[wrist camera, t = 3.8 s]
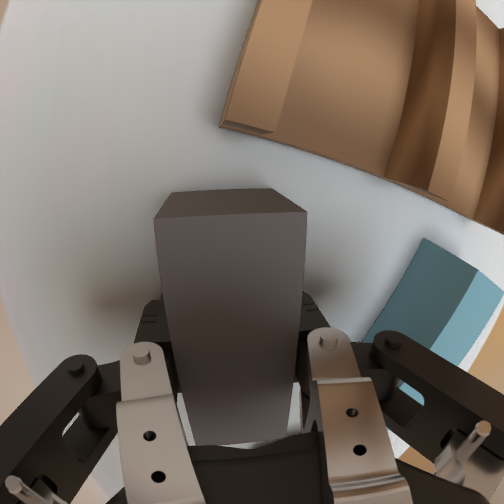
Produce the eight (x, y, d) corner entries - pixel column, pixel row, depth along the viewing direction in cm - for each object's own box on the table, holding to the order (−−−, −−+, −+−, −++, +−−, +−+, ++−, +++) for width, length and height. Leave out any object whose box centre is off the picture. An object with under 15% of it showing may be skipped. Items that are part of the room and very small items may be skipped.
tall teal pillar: (374, 384, 16) (402, 429, 12) (331, 378, 15) (359, 431, 11) (455, 260, 14) (504, 292, 10) (421, 236, 13) (478, 269, 9)
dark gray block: (267, 374, 14) (285, 437, 10) (194, 380, 13) (196, 446, 10) (271, 187, 11) (307, 211, 7) (172, 192, 10) (153, 219, 6)
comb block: (471, 220, 13) (517, 241, 9) (218, 127, 9) (225, 119, 6) (498, 42, 9) (539, 38, 6) (294, -86, 6) (317, -126, 2)
